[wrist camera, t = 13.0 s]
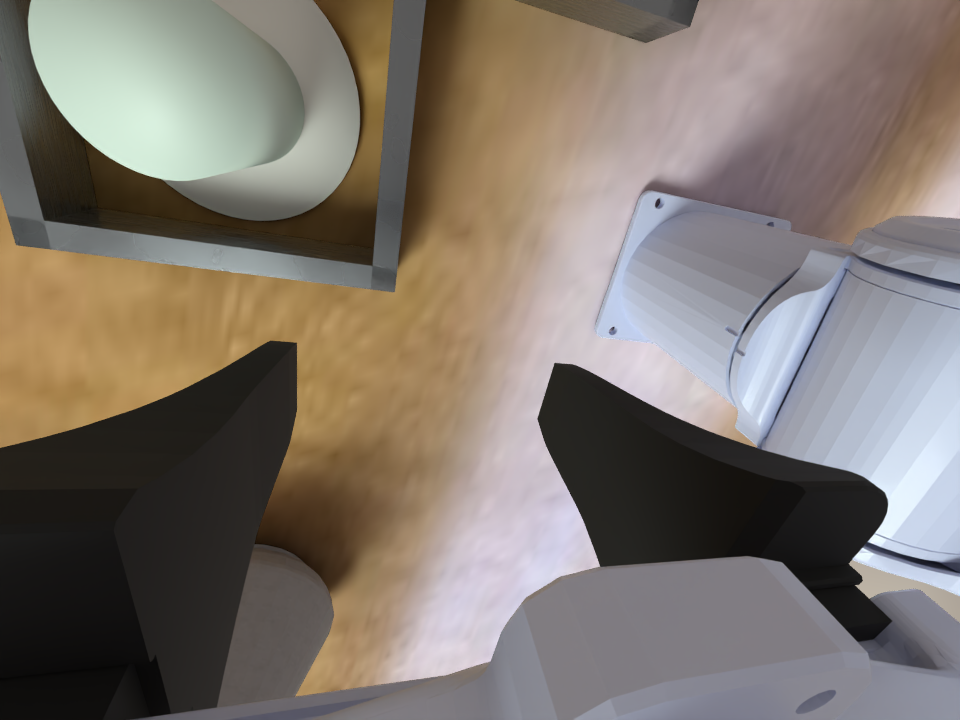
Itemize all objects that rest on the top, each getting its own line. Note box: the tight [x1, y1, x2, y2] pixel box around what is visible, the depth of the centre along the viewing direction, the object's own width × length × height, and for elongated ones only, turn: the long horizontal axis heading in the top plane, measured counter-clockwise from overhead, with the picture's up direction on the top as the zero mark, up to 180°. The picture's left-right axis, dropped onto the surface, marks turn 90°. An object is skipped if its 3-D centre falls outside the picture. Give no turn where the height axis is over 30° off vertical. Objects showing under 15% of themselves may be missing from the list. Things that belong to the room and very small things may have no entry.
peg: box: [28, 0, 305, 181], centre depth 13 cm, size 4×4×7 cm
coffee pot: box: [217, 544, 334, 708], centre depth 23 cm, size 21×12×15 cm, turn 79°
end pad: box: [162, 0, 360, 221], centre depth 16 cm, size 9×9×1 cm
